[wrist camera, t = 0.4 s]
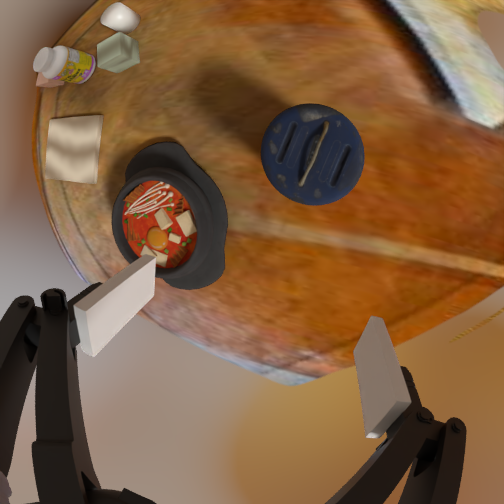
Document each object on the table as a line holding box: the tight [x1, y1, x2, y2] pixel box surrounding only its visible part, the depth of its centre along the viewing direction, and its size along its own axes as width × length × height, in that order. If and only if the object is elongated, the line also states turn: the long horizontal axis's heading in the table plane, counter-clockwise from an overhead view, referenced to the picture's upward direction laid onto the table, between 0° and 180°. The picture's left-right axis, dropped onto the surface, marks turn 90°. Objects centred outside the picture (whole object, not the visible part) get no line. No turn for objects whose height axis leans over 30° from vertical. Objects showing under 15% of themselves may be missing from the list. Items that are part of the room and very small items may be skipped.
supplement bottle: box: [33, 46, 96, 84], centre depth 32 cm, size 7×7×13 cm
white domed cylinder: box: [101, 2, 140, 34], centre depth 31 cm, size 5×5×6 cm
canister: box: [261, 104, 364, 205], centre depth 29 cm, size 10×10×18 cm
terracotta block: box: [36, 72, 64, 88], centre depth 37 cm, size 5×5×5 cm
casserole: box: [112, 141, 228, 290], centre depth 41 cm, size 25×19×8 cm
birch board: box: [45, 115, 104, 184], centre depth 43 cm, size 13×16×1 cm
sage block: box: [97, 32, 140, 73], centre depth 34 cm, size 5×5×6 cm
